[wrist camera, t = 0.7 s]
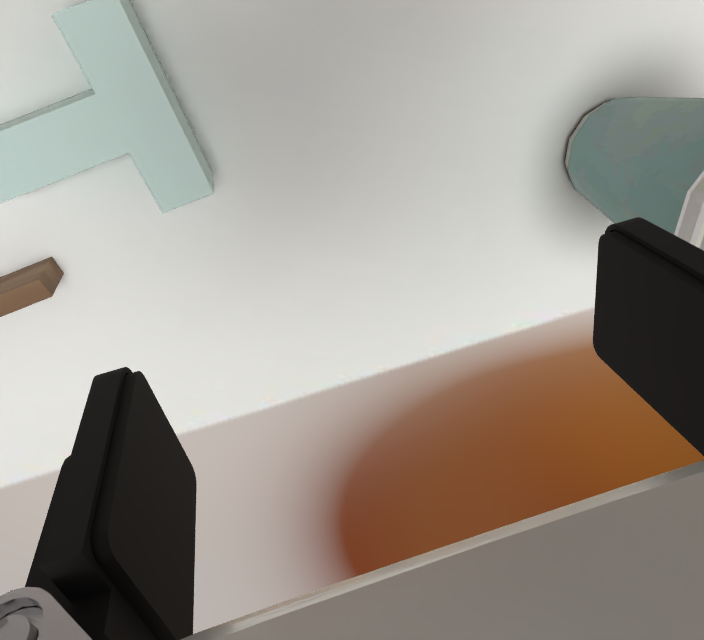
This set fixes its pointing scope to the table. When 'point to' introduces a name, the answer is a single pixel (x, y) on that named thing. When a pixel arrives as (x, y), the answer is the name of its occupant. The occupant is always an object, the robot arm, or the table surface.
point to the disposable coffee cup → (643, 162)
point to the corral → (29, 285)
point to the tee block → (108, 115)
